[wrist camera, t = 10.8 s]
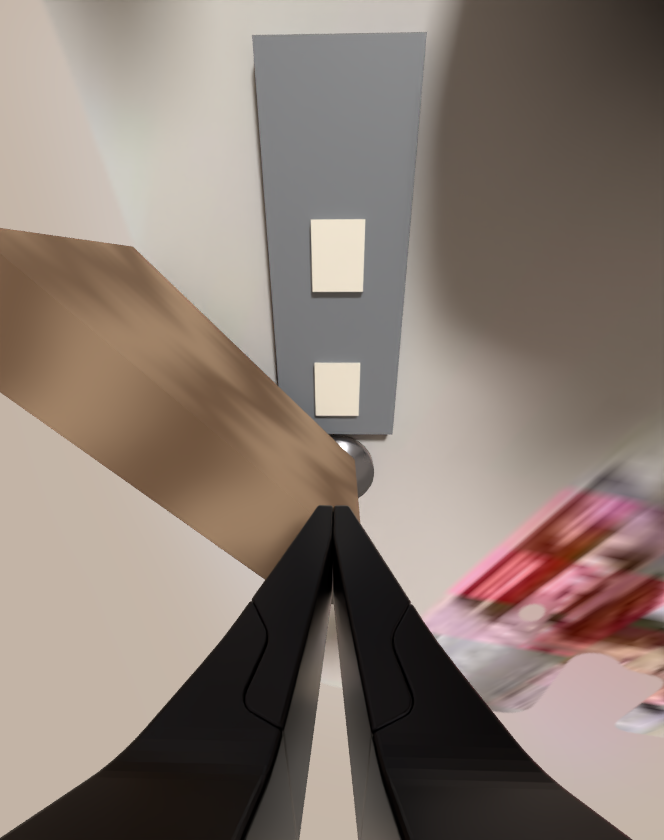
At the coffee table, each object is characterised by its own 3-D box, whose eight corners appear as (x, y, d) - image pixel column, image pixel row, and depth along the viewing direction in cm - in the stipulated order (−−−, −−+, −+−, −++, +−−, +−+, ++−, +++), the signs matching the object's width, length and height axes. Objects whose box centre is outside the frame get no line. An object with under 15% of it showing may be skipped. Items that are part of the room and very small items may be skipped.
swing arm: (372, 476, 20) (389, 578, 13) (326, 510, 21) (321, 619, 15) (132, 246, 15) (-36, 223, 8) (90, 307, 16) (-89, 329, 10)
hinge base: (387, 460, 22) (389, 466, 21) (344, 507, 24) (345, 514, 23) (327, 421, 21) (327, 427, 20) (287, 474, 22) (285, 480, 22)
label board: (390, 428, 21) (393, 436, 20) (284, 428, 21) (281, 435, 20) (421, 45, 13) (428, 26, 12) (256, 48, 14) (250, 30, 13)
